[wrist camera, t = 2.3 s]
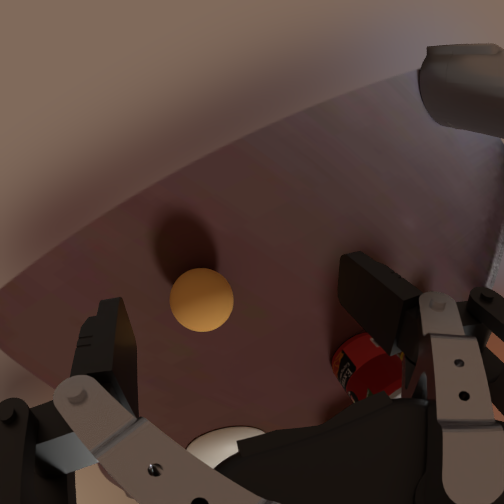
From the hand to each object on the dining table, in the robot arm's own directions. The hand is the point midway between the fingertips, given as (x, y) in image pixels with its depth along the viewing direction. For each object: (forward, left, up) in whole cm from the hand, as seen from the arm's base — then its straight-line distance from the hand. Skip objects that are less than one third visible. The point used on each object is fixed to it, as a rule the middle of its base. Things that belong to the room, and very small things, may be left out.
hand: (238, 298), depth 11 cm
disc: (+39, 0, -16) cm, 42 cm away
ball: (+9, 0, -14) cm, 16 cm away
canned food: (+24, +19, -17) cm, 34 cm away
